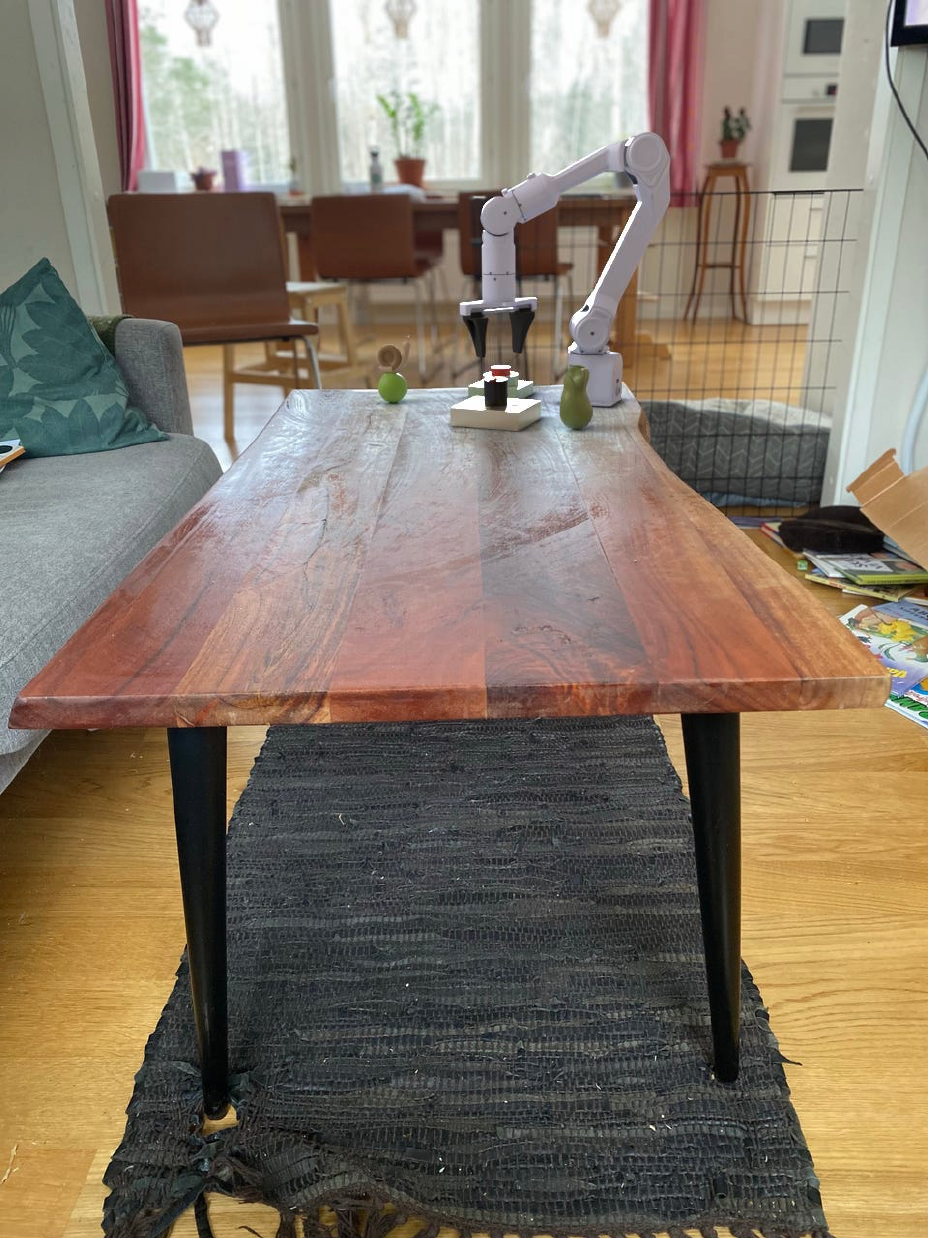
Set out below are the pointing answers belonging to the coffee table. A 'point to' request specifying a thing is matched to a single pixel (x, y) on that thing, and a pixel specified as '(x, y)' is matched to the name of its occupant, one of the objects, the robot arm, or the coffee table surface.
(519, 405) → the panel
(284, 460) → the coffee table surface
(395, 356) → the snail figurine
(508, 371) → the button
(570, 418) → the pear
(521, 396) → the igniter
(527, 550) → the coffee table surface
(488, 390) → the stove knob
